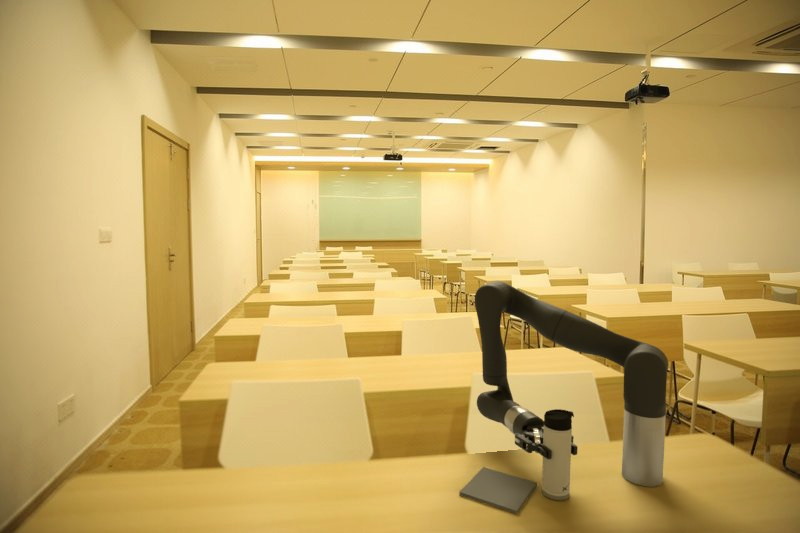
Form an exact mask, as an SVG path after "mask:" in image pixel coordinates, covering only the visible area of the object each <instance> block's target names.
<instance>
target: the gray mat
mask: <svg viewBox="0 0 800 533" xmlns="http://www.w3.org/2000/svg"><path fill="white" fill-rule="evenodd" d="M537 484H538V482H536V481H534V480H530V479H526V478H524V477H520V476H516V475H513V474H509V473H506V472H502V471H499V470H496V469H491V468H488V467H485V466H483V467H482V468H481V469H480V470H479V471H478V472H477V473H476V474H475V475H474V476H473V477H472V478H471V479H470V480H469V481H468V482H467V484H465V485H464V487H463V488H462V489H460V491H459V494H458V495H459V496H461V497H464V498H468V499H471V500H473V501H476V502H479V503H483V504H484V505H488V506H491V507H493V508H497V509H500V510H502V511H506V512H508V513H509V512H510V513H511V514H515V515H518V514H519V512H520V510H521V509H522V507H523V506H524V504H525V503H526V502H527V500H528V499H529V498H530V496H531V494H532V493H533V492H534V490H535V489H536V487H537V486H538V485H537Z"/></svg>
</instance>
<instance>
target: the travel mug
mask: <svg viewBox="0 0 800 533" xmlns="http://www.w3.org/2000/svg"><path fill="white" fill-rule="evenodd" d="M574 417H575V415H574V412H573V411H569V410H567V409H561V408H560V409H557V408H556V409H551V410H547V411H545V413H544V416H543V421H544V433H543V444H544V445H545V446H546V447H548V448H549V449H550V450H551V452H552V456H551V459H547V458H545V457H543V456H542V467H541V468H542V471H541V473H542V474H541V475H542V476H541V492H542V494H543V495H544V496H545V497H547V498H548V499H550V500H553V501H565V500H567V499H568V498H570V490H571V489H570V488H571V464H572V463H571V461H572V454H571V437H572V435H573V433H572V432H573V431H572V429H573V427H572V423H573V422H572V418H574Z"/></svg>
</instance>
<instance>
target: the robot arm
mask: <svg viewBox="0 0 800 533" xmlns="http://www.w3.org/2000/svg"><path fill="white" fill-rule="evenodd" d="M474 295H475V296H474V304H475V305H474V306H475V312H476V316H477V321H478V327H479V333H480V341H481V342H480V344H481V356H482V357H481V358H482V360H481V361H482V364H481V365H482V367H481V368H482V380H483V382H484V384H486V385H488V386H492V387H497V388H496V390H495V389H494V390H490V391H484V392H481V393H480V394H479V395H478V396H477V399H476V407H477V410H478V411H479V413H480V415H482V416H483V417H484V418H487V419H488V420H490V421H493V422H496V423H498V424H499V423H500V424H502V425H503V426H504V427H506V428H507V429H508V430H509V431H510V433H512V434H513V435H514V444H515V445H516V446H517V447H518V448H521V449H522V450H523V451H524V452H526V453H528V454H532V453H533V452H534V453H536V454H539V455H541V456H542V458H543V457H545V458H547V459H551V456H552V452H551V450H550V449H549V448H548V447H546V446H545V445H544V444H543V433H544V419H543V418H541V417H539V416H538V415H536V414H535V413H534V412H532V411H530V410H529V409H527V408H525V407H523V406H522V405H520V404H519V403H517V402H515V401H514V398H513V395H512V391H511V388H510V384H509V380H508V359H507V351H506V348H505V344H504V342H503V337H502V332H501V321H502V314H503V313H505V314H508V315H511V316H512V317H516V318H518V319H520V320H522V321H524V322H525V323H526V324H529V325H530V326H531V327H532V328H533V329H534V330H535V331H536V332H537V333H539V334H540V335H541V336H542V337H544V338H545V339H547V340H549V341H551V342H553V343H555V344H557V345H559V346H561V347H563V348H566V349H569V350H571V351H575V352H578V353H582V354H587V355H590V356H591V355H593V356H596V357H600V358H603V359H607V360H609V361H610V362H613V363H615V364H617V365H619V366H621V367H622V368H624V369H623V397H622V398H623V406H624V407H623V429H622V430H623V431H622V433H623V434H622V435H623V436H622V456H621V457H622V458H621V459H622V460H621V475H622V477H623V478H624V479H626V480H627V481H628V482H630V483H633V484H635V485H638V486H643V487H648V488H649V487H651V488H653V487H658V486H661V485H662V484H663V483H664V482H663V481H664V480H663V479H664V464H665V463H664V458H665V439H666V438H665V435H666V416H667V415H666V414H667V413H666V411H667V384H668V383H667V381H668V370H669V360H668V357H667V355H666V354H665V352H663V351H662V349H661V348H659V347H657V346H655V345H653V344H649V343H646V342H644V341H643V342H642V341H639V340H636V339H633V338H630V337H628V336H624V335H622V334H618V333H616V332H614V331H612V330H610V329H608V328H605V327H603V326H602V325H600V324H598V323H595V322H593V321H591V320H589V319H586V318H584V317H582V316H580V315H578V314H575V313H573V312H571V311H568V310H566V309H563V308H560V307H558V306H555V305H553V304H551V303H548V302H546V301H543V300H540V299H538V298H535V297H532V296H531V295H529V294H527V293H524V292H523V291H522V290H520V289H517V288H515V287H514V286H513V285H510V284H508V283H507V282H505V281H501V280H493V281H490V282H488V283H485V284H483V285H482V286H480V287H478V289H477V290H476V292H475V294H474ZM571 456H578V446H577V444H575V443H574V435H573V434H572V437H571Z"/></svg>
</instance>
